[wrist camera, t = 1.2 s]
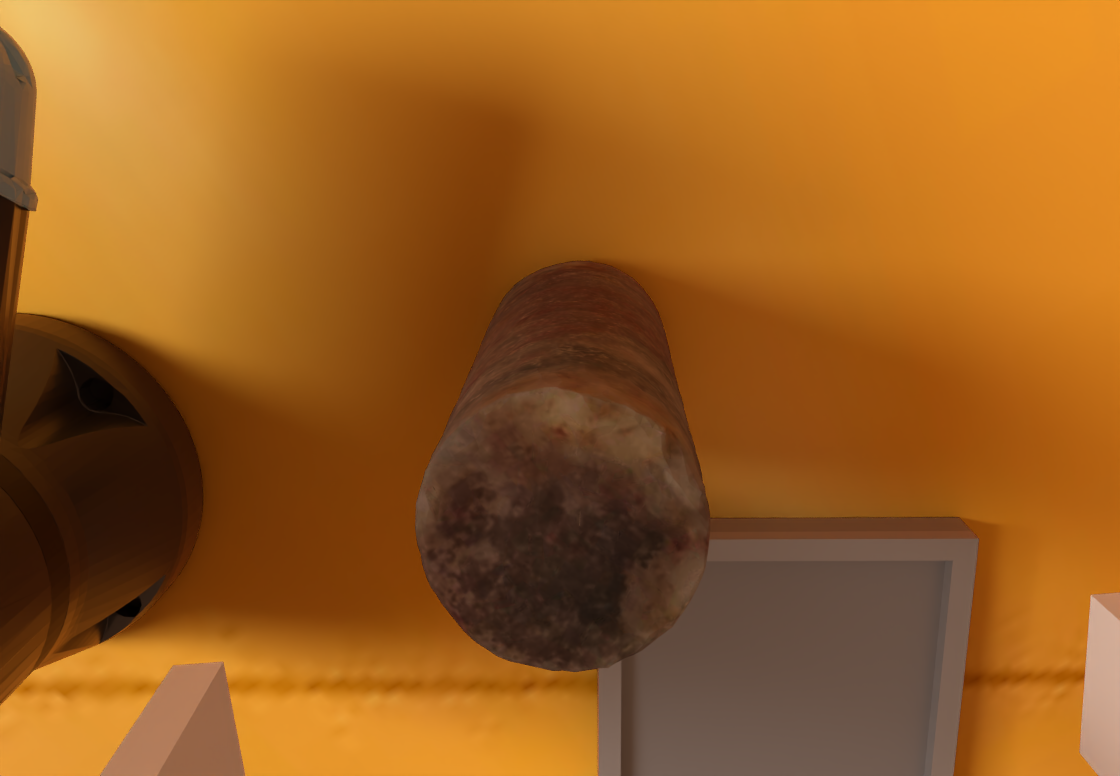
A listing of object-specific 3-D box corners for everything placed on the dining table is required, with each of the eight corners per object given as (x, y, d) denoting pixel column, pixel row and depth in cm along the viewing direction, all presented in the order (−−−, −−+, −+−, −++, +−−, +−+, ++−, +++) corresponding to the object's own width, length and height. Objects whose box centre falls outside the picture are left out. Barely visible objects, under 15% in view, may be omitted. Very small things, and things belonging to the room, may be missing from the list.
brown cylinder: (506, 442, 44) (452, 701, 25) (465, 279, 42) (371, 422, 23) (678, 405, 43) (761, 643, 24) (644, 239, 41) (704, 351, 22)
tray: (597, 823, 49) (598, 857, 47) (597, 518, 45) (598, 540, 43) (927, 823, 49) (944, 857, 46) (959, 517, 44) (978, 538, 42)
